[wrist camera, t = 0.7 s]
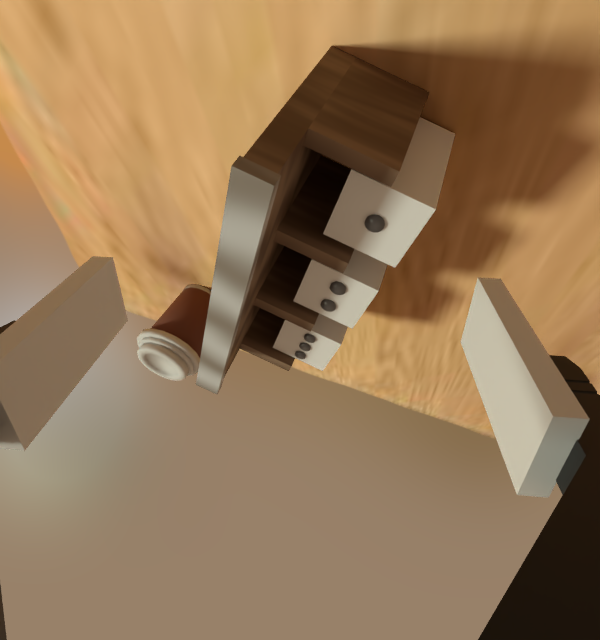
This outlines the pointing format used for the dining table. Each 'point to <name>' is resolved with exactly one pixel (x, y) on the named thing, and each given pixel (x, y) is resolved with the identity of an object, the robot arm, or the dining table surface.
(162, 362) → the coffee cup
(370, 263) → the key two
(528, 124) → the dining table surface
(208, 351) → the brown slotted rack
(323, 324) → the key three
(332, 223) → the key one
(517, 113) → the dining table surface
